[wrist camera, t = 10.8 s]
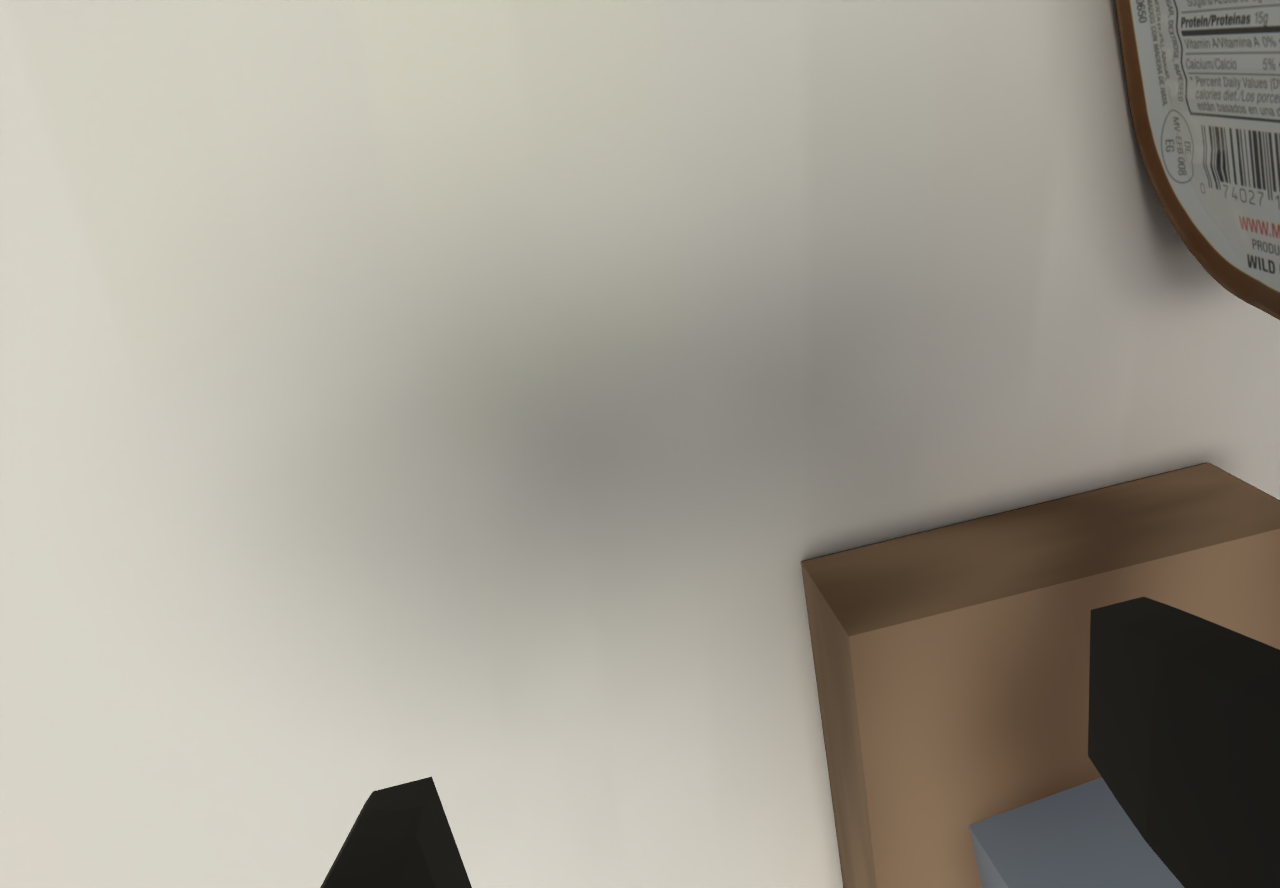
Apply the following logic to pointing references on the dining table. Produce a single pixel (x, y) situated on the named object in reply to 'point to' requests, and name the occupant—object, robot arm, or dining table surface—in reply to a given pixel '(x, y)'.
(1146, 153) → the tin
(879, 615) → the plinth
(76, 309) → the dining table surface
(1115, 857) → the block
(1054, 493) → the dining table surface
